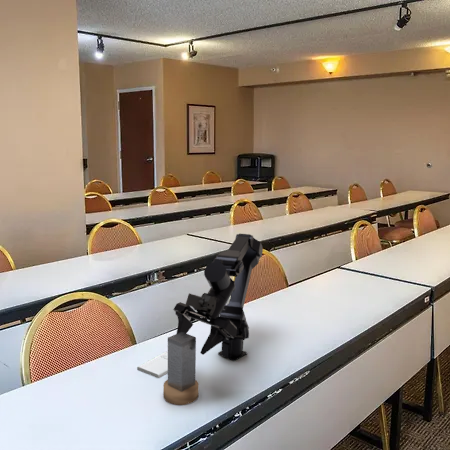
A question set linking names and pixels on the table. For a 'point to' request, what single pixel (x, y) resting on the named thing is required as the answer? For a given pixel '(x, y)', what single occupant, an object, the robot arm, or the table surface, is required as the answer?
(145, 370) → the external hard drive
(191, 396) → the stand
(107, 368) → the table surface
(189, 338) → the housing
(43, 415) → the table surface
